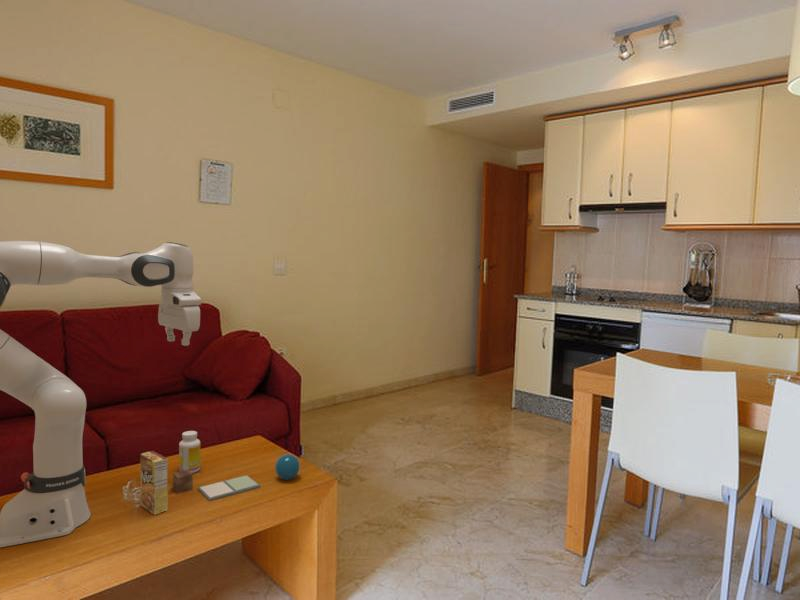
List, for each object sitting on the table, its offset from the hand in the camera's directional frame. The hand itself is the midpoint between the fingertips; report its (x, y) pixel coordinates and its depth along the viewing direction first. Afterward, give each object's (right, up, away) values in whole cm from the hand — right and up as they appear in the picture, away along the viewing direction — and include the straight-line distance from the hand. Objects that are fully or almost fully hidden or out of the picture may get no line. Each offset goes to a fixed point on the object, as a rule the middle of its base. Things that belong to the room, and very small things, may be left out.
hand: (178, 343), depth 161 cm
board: (+14, -46, +6) cm, 48 cm away
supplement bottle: (-4, -44, +19) cm, 48 cm away
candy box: (-3, -47, -8) cm, 47 cm away
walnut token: (0, -46, +5) cm, 46 cm away
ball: (+30, -46, +14) cm, 56 cm away
